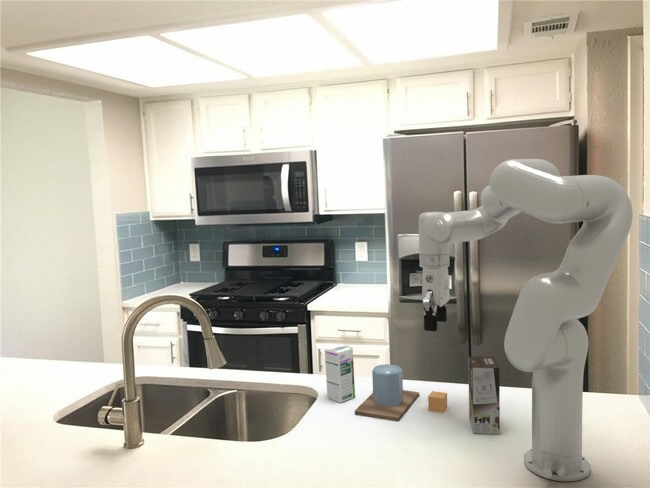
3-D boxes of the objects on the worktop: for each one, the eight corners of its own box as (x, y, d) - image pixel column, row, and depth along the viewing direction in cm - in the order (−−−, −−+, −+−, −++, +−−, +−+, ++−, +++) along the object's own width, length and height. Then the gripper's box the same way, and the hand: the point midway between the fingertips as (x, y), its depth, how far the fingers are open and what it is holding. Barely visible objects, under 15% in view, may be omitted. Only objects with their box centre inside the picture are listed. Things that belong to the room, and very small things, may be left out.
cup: (396, 408, 143) (395, 374, 142) (370, 404, 146) (369, 371, 145) (405, 398, 150) (404, 366, 149) (380, 394, 153) (379, 363, 152)
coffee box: (500, 434, 128) (500, 367, 126) (472, 433, 129) (471, 367, 127) (495, 418, 137) (494, 355, 135) (468, 417, 138) (467, 355, 136)
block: (443, 413, 141) (443, 398, 141) (428, 411, 143) (428, 396, 143) (447, 407, 145) (447, 392, 144) (432, 405, 147) (432, 391, 146)
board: (398, 421, 137) (398, 417, 137) (354, 414, 143) (354, 410, 143) (419, 395, 153) (419, 392, 153) (378, 390, 159) (378, 386, 159)
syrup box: (341, 403, 150) (338, 352, 149) (326, 398, 154) (324, 348, 153) (355, 397, 154) (353, 347, 152) (340, 392, 158) (338, 343, 157)
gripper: (440, 265, 131) (441, 335, 132) (456, 256, 146) (457, 318, 148) (410, 265, 134) (411, 333, 136) (429, 255, 149) (430, 317, 151)
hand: (435, 325), depth 142 cm, fingers open, 9 cm apart
